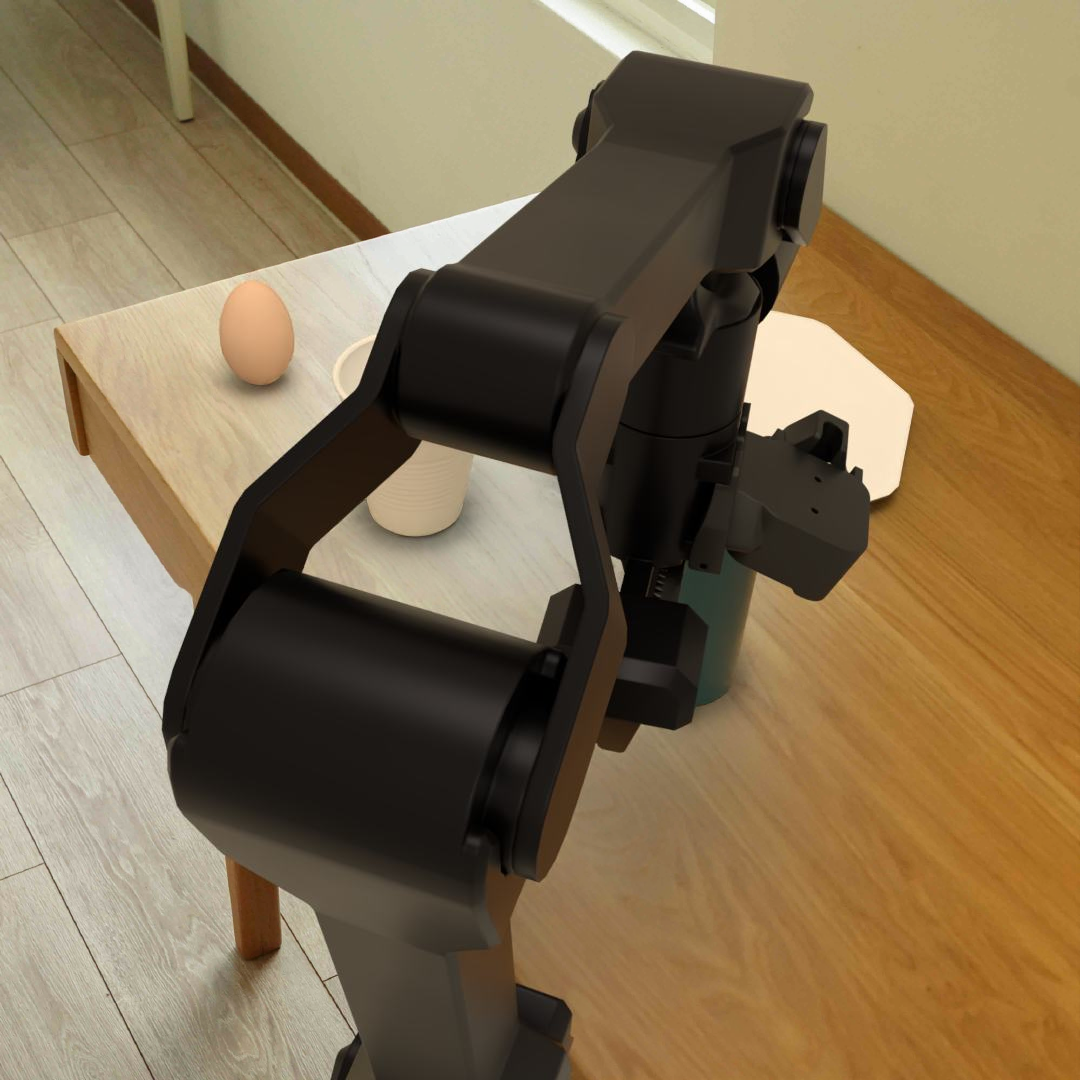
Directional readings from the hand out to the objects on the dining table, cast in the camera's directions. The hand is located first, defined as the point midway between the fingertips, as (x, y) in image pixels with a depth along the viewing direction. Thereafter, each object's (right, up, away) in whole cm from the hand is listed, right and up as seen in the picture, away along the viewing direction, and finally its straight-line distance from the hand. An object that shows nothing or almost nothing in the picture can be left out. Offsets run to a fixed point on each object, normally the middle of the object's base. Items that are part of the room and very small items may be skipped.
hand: (629, 672), depth 62 cm
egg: (-25, +18, +38) cm, 49 cm away
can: (+4, -1, +18) cm, 19 cm away
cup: (-12, +8, +28) cm, 31 cm away
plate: (+9, +15, +37) cm, 41 cm away
